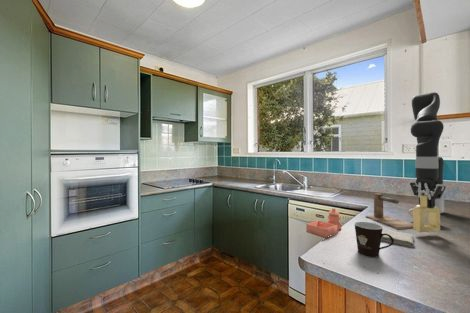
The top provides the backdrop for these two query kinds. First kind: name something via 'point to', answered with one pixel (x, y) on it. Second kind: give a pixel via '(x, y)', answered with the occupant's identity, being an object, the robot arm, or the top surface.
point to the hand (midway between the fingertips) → (426, 207)
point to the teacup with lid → (426, 216)
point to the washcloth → (398, 238)
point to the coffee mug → (369, 238)
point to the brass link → (419, 216)
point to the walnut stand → (384, 219)
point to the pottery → (325, 225)
